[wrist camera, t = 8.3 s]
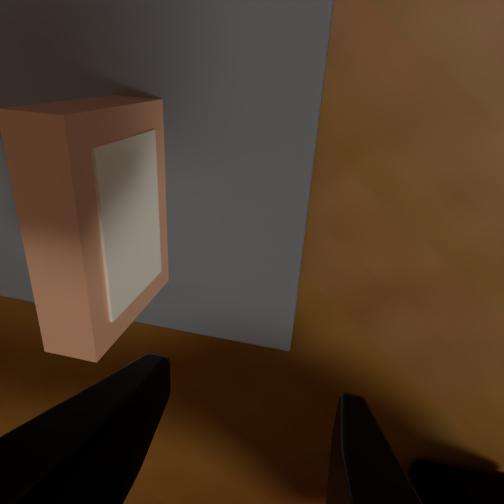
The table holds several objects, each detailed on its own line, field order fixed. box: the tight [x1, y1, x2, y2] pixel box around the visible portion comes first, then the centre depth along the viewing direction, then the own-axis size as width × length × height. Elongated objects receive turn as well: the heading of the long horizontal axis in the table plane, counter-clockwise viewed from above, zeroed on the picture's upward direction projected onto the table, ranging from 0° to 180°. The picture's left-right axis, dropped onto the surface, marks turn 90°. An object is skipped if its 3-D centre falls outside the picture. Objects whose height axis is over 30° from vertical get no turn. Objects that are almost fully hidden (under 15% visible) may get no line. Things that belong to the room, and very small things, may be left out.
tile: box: [0, 95, 169, 363], centre depth 15 cm, size 8×2×6 cm, turn 177°
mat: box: [0, 0, 334, 352], centre depth 18 cm, size 15×16×1 cm
